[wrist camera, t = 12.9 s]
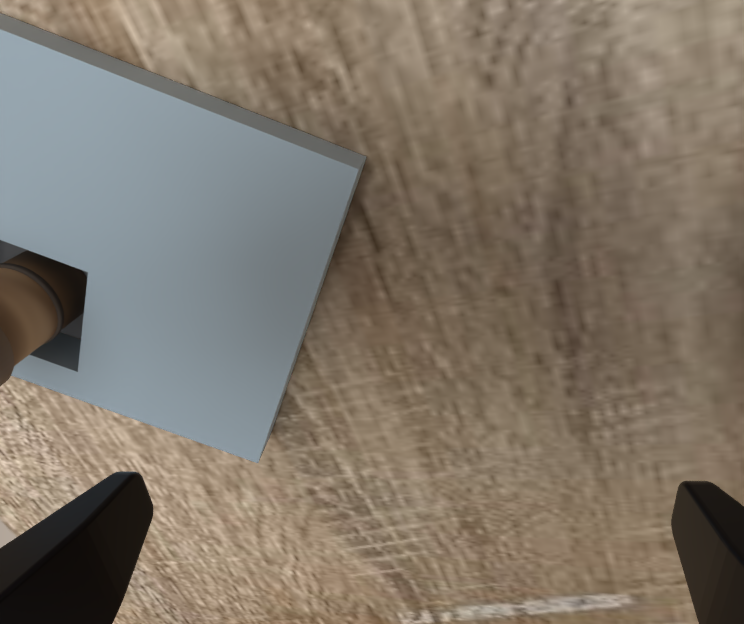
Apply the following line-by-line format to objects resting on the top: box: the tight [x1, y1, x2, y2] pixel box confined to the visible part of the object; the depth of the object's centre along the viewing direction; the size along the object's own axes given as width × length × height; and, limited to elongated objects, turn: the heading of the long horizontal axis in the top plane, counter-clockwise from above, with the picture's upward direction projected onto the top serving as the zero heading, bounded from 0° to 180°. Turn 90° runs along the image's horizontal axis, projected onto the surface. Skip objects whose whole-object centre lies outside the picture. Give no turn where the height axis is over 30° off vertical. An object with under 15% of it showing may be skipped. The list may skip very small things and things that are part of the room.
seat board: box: [0, 13, 367, 463], centre depth 21 cm, size 16×14×2 cm
